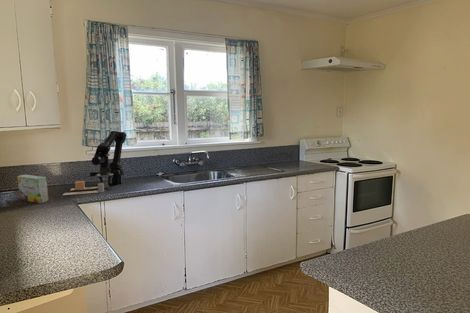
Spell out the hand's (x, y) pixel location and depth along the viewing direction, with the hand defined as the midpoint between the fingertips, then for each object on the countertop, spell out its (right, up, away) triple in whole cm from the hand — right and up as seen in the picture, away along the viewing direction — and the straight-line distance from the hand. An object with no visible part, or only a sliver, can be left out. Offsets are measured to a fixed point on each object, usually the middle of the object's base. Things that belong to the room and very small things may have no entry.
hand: (105, 185), depth 229 cm
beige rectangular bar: (-10, -3, -2) cm, 11 cm away
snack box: (-32, -7, -30) cm, 44 cm away
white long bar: (-8, -4, -15) cm, 18 cm away
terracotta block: (-16, -2, -4) cm, 17 cm away
